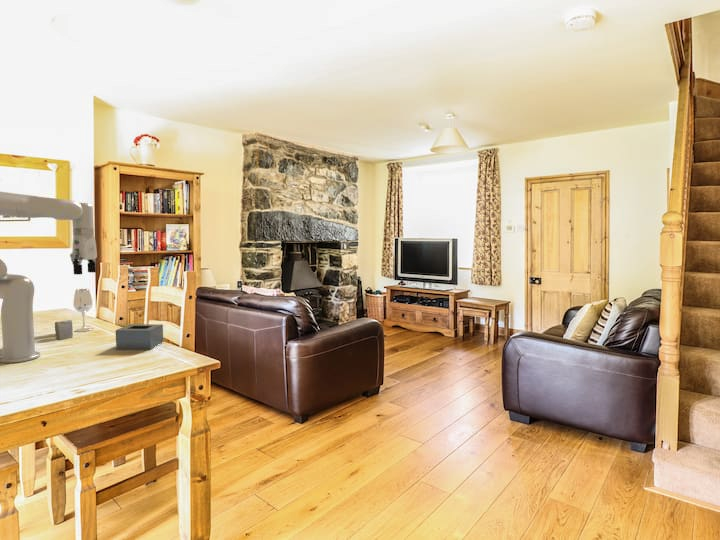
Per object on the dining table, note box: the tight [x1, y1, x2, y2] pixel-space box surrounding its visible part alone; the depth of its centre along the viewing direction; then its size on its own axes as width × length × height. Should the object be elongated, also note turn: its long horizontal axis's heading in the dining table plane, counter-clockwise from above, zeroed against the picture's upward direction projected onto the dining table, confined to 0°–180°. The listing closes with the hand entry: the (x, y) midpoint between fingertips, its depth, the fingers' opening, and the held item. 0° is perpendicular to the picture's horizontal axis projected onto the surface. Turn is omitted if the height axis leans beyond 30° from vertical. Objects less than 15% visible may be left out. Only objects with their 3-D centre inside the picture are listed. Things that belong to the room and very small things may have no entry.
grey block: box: [54, 319, 74, 341], centre depth 203 cm, size 7×9×8 cm
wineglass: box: [72, 288, 94, 333], centre depth 219 cm, size 8×8×20 cm
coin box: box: [115, 323, 164, 351], centre depth 190 cm, size 14×12×8 cm
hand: (85, 273), depth 191 cm, fingers open, 9 cm apart
